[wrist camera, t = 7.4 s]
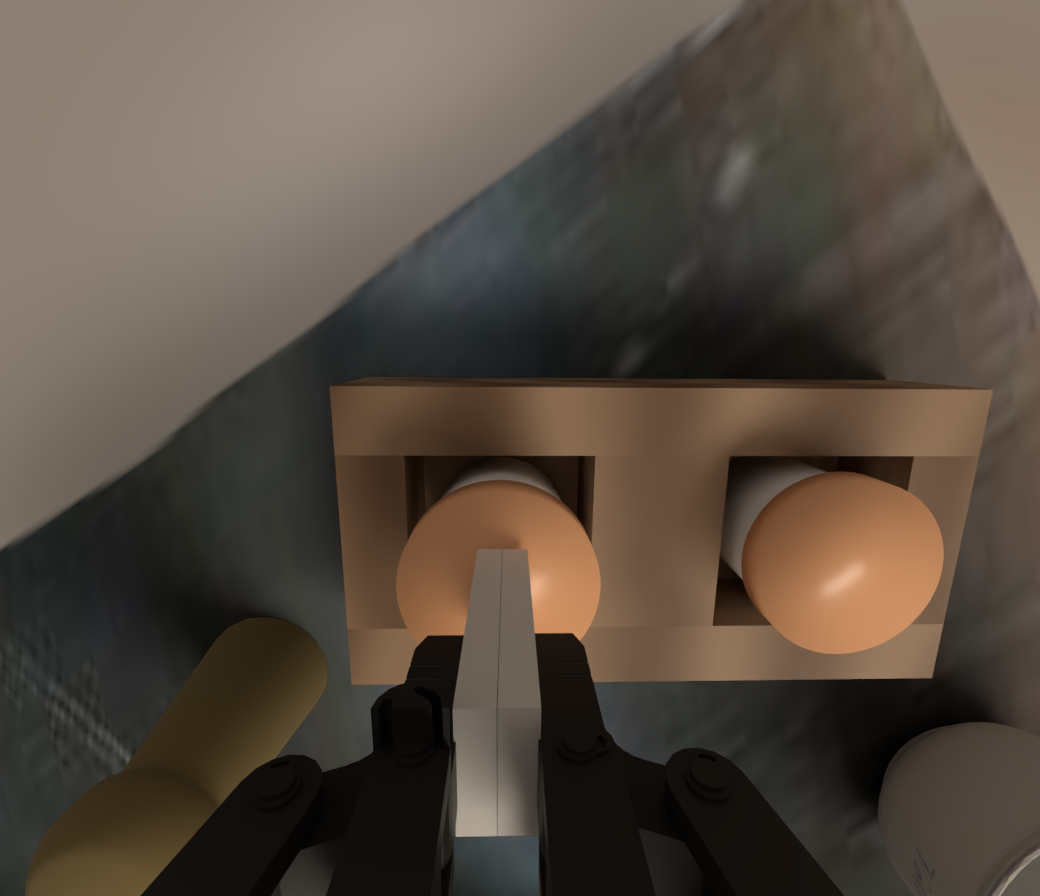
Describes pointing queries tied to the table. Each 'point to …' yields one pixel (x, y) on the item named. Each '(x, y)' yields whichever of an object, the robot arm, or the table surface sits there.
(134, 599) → the table surface
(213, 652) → the cork
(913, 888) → the teacup
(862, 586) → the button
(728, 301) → the table surface
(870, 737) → the table surface
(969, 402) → the brown wooden block
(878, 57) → the table surface
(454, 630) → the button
